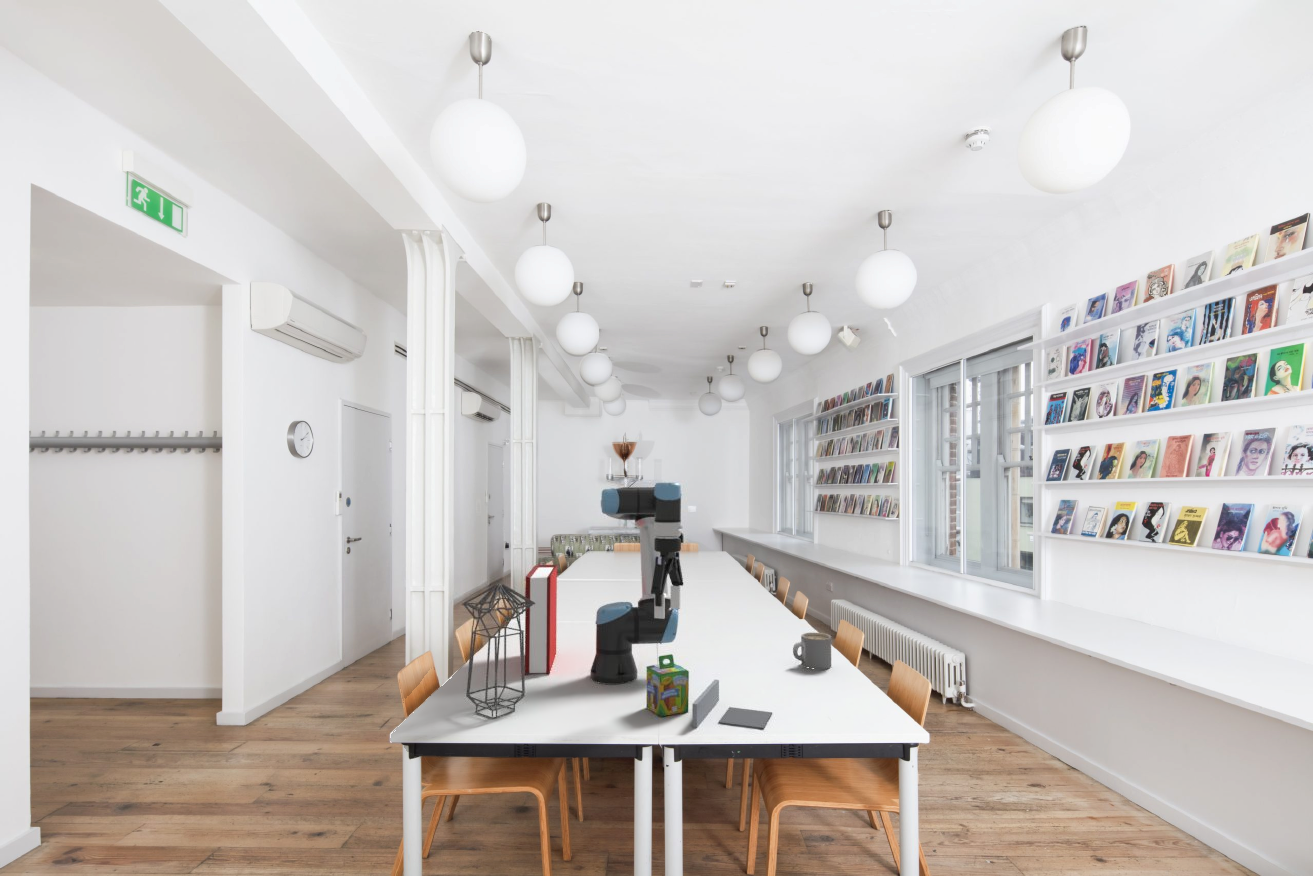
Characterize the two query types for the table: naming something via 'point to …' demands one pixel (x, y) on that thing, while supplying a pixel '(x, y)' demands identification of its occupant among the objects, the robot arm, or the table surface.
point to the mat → (745, 718)
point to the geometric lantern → (504, 591)
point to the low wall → (705, 703)
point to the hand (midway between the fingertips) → (667, 613)
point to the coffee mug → (814, 650)
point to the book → (541, 619)
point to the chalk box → (667, 687)
